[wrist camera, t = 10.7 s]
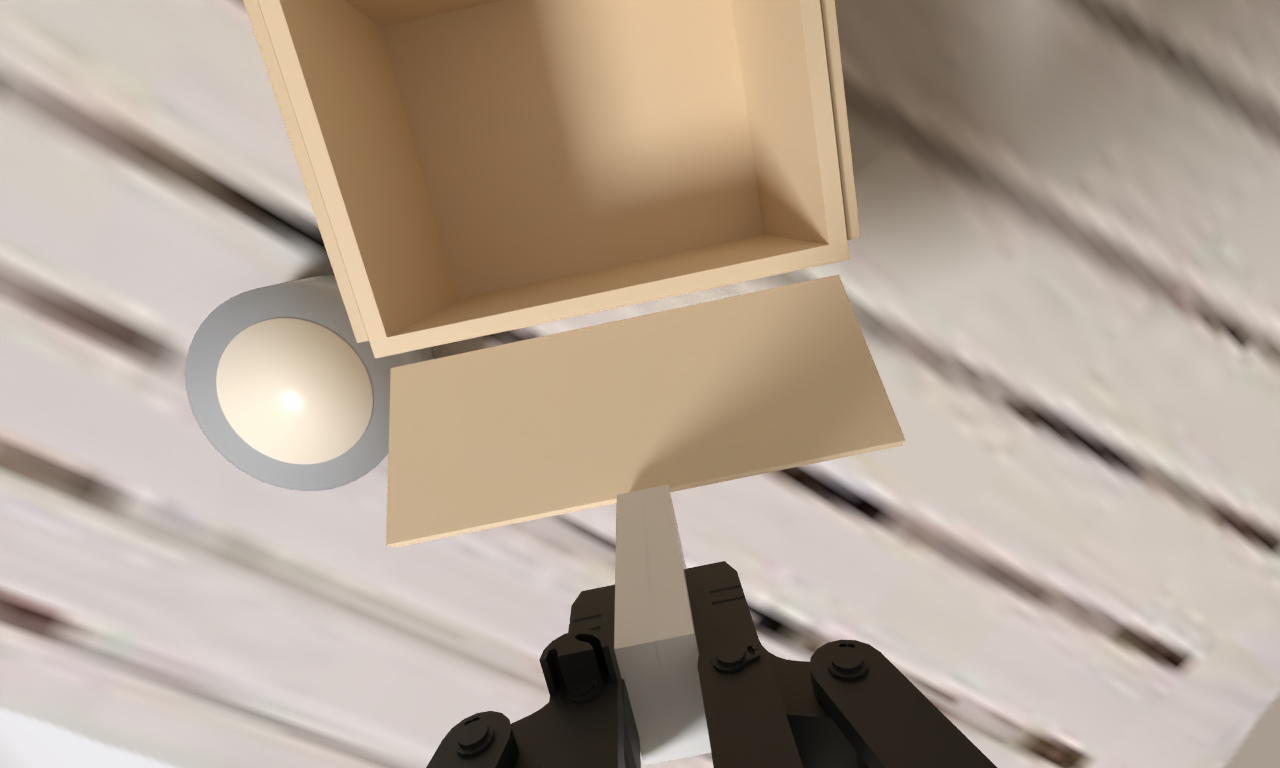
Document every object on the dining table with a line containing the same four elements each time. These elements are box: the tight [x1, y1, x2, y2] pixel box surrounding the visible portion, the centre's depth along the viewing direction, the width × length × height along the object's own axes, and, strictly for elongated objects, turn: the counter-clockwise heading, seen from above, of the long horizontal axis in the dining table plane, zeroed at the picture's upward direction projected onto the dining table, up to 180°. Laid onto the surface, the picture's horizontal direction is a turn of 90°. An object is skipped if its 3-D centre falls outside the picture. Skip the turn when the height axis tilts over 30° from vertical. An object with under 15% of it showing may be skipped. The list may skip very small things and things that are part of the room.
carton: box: [243, 0, 860, 358], centre depth 24 cm, size 17×13×10 cm
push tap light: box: [185, 275, 434, 491], centre depth 29 cm, size 9×9×5 cm
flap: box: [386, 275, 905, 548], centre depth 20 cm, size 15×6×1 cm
